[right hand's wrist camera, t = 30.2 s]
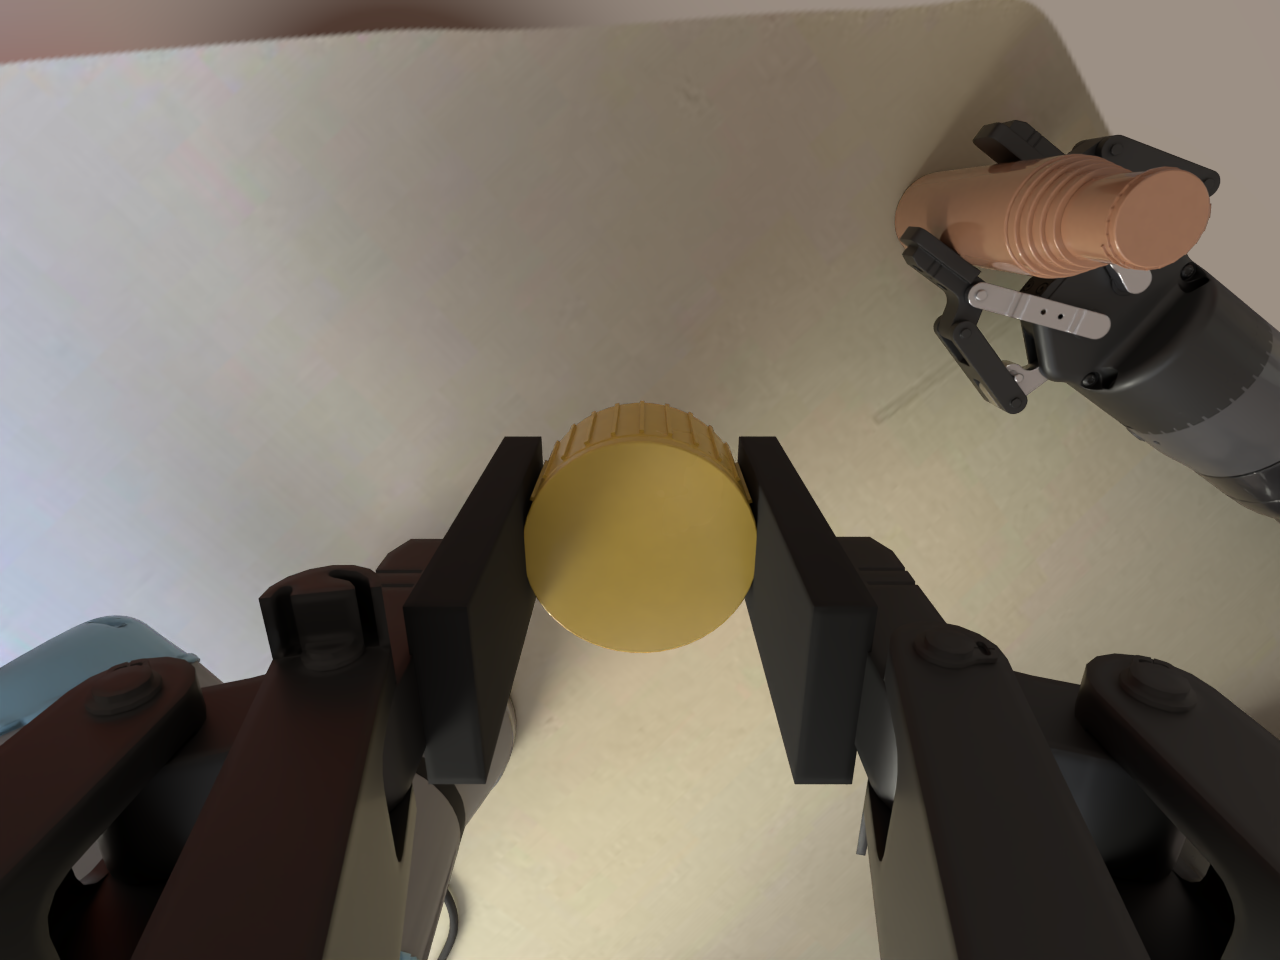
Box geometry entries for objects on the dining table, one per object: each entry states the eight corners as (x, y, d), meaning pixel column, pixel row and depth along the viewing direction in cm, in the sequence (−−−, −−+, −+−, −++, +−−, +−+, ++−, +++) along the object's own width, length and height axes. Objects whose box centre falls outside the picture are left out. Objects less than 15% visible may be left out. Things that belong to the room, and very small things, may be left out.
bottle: (895, 264, 40) (1084, 305, 23) (892, 180, 38) (1093, 155, 21) (976, 250, 40) (1228, 280, 23) (976, 164, 38) (1248, 126, 21)
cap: (780, 525, 15) (806, 587, 12) (613, 618, 16) (606, 691, 13) (674, 358, 13) (680, 389, 11) (498, 469, 14) (468, 521, 12)
